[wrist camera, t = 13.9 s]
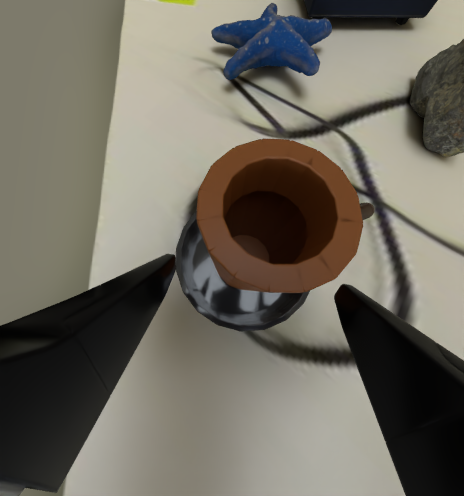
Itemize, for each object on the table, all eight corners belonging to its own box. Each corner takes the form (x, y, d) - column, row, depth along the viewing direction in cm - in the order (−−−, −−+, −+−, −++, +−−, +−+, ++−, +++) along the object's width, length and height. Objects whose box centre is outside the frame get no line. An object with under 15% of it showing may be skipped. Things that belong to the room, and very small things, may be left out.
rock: (539, 142, 20) (498, 114, 17) (451, 175, 26) (410, 159, 23) (499, 36, 23) (459, -2, 20) (430, 89, 29) (392, 65, 27)
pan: (207, 343, 17) (203, 357, 14) (169, 228, 20) (158, 216, 17) (320, 294, 19) (340, 295, 16) (271, 194, 22) (279, 176, 18)
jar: (243, 302, 18) (289, 335, 5) (203, 259, 19) (161, 203, 6) (282, 261, 19) (394, 209, 7) (243, 223, 20) (274, 113, 7)
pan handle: (297, 246, 18) (305, 242, 17) (290, 231, 19) (297, 226, 17) (368, 218, 20) (382, 211, 18) (360, 205, 20) (373, 197, 18)
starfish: (318, 25, 30) (336, -25, 25) (329, 104, 26) (353, 63, 21) (215, 16, 30) (213, -37, 25) (208, 96, 25) (204, 50, 20)
